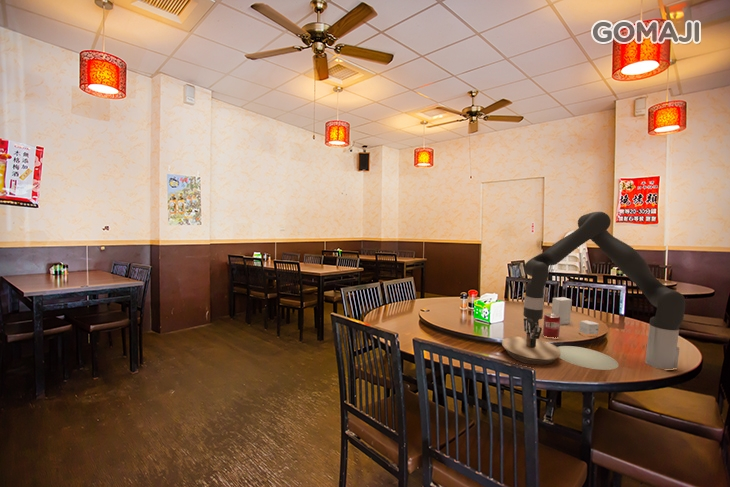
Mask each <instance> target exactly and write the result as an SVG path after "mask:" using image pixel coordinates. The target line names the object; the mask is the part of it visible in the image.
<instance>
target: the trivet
mask: <svg viewBox="0 0 730 487" xmlns="http://www.w3.org/2000/svg"><path fill="white" fill-rule="evenodd" d="M556 347H557V348H559V349H560V351H561V355H560V357H558V358H559V359H561V360H563V361H565V362H567V363H569V364H572V365H575V366H578V367H582V368H587V369H591V370H592V369H593V370H600V371H609V370H610V371H611V370H615V369H617V368H618V367H619V363H618V361H617V360H616V359H614V358H613V357H611V356H610V355H607V354H605V353H602V352H600V351H598V350H594V349H590V348H586V347H582V346H581V347H580V346H572V345H560V346H556Z"/></svg>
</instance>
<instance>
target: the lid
mask: <svg viewBox="0 0 730 487" xmlns="http://www.w3.org/2000/svg"><path fill="white" fill-rule="evenodd" d="M526 338H527V342H526ZM501 345H502V347H503V348H504V349H505V350H506V349H507V350H508V351H510V352H512V353H514V354H517V355H520V356H523V357H526V358H527V359H533V360H543V361H544V360H552V359H555V360H557V359H558V358H559V357H560V355H561V351H560V349H559V348H557V347H558V346H557V345H555V344H553V343H550V342H547V341H545V340H542V339H536V347H531V346H530V334H526V336H511V337H510V336H509V337H505V338H504V339H502V342H501Z"/></svg>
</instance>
